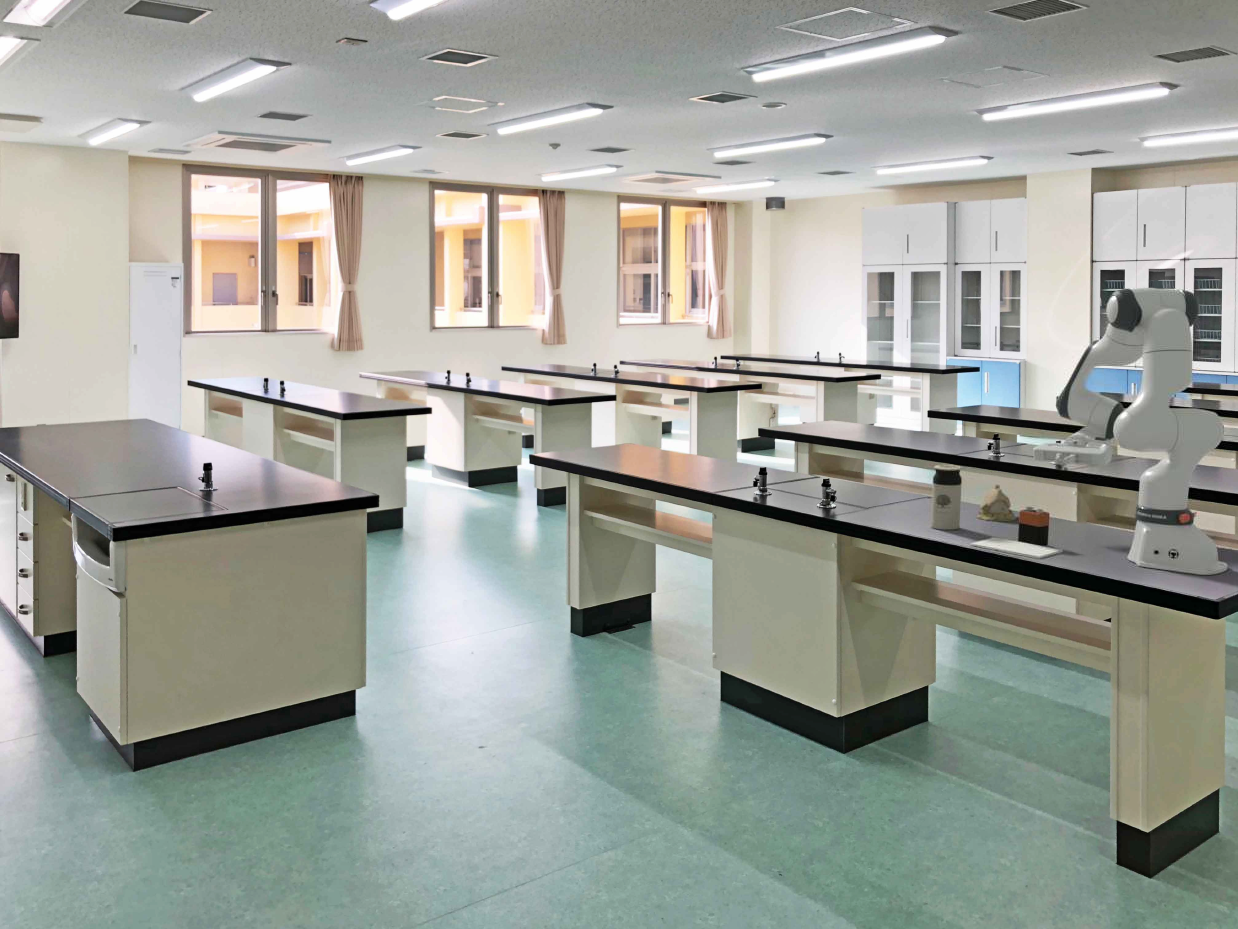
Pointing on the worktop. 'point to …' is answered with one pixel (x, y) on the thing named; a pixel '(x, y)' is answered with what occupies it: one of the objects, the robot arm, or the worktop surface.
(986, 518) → the ceramic model
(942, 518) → the travel mug
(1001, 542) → the bench mat
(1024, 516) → the battery
